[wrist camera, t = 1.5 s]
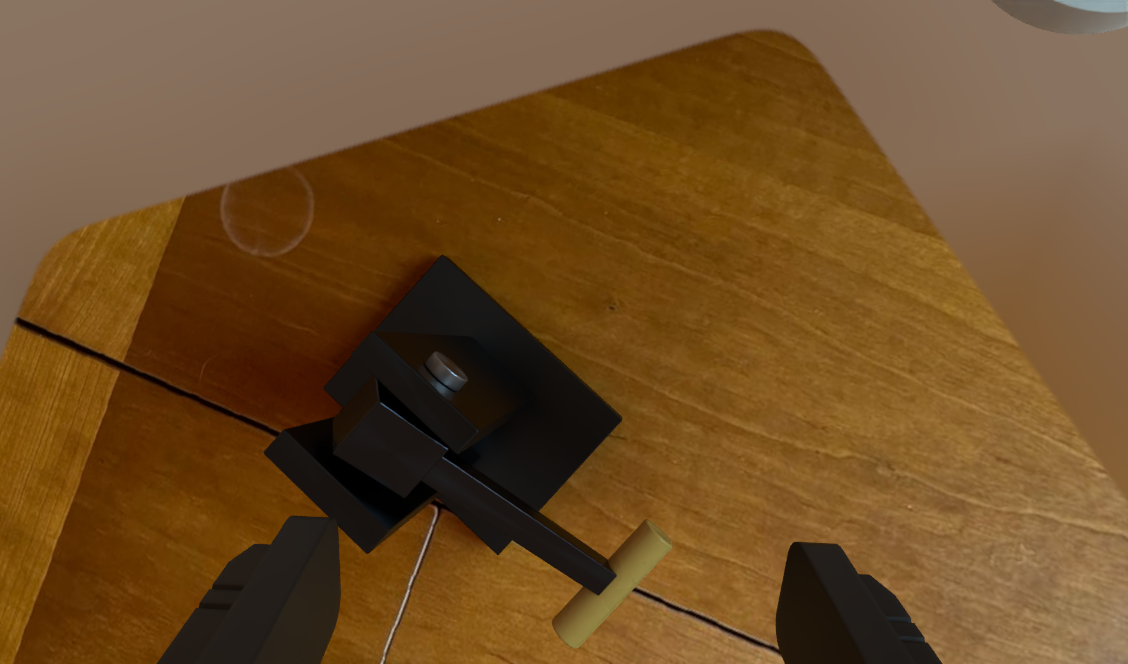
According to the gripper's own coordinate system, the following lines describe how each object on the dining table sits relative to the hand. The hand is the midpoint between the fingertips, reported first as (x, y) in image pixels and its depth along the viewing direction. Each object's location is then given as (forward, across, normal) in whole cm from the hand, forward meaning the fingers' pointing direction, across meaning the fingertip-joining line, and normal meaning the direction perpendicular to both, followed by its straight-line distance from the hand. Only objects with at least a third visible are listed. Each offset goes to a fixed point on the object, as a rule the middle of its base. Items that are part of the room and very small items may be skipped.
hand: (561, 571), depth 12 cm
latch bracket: (+22, +4, +7) cm, 23 cm away
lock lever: (+12, +2, +6) cm, 14 cm away
